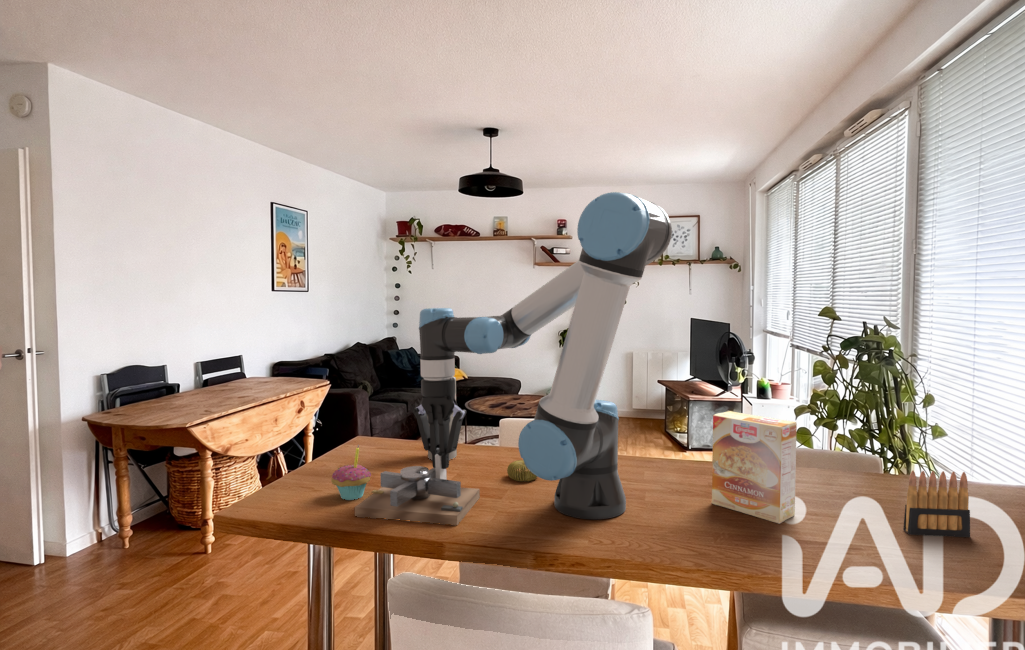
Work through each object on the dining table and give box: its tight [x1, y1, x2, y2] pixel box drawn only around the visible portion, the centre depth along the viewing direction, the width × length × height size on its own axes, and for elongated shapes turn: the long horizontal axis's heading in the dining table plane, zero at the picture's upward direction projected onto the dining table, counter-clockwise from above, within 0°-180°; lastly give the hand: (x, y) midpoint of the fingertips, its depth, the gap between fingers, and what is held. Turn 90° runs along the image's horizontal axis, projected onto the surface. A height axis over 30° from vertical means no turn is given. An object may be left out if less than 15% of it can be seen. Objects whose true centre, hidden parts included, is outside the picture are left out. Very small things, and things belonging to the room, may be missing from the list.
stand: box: [354, 486, 481, 526], centre depth 124 cm, size 22×16×4 cm
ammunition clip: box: [902, 469, 971, 538], centre depth 108 cm, size 11×2×12 cm, turn 83°
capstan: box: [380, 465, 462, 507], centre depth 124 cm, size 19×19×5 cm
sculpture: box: [506, 459, 538, 483], centre depth 143 cm, size 8×4×8 cm
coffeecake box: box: [711, 410, 798, 525], centre depth 121 cm, size 15×7×20 cm, turn 40°
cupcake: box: [330, 444, 372, 501], centre depth 130 cm, size 9×8×12 cm
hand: (441, 482), depth 129 cm, fingers closed
